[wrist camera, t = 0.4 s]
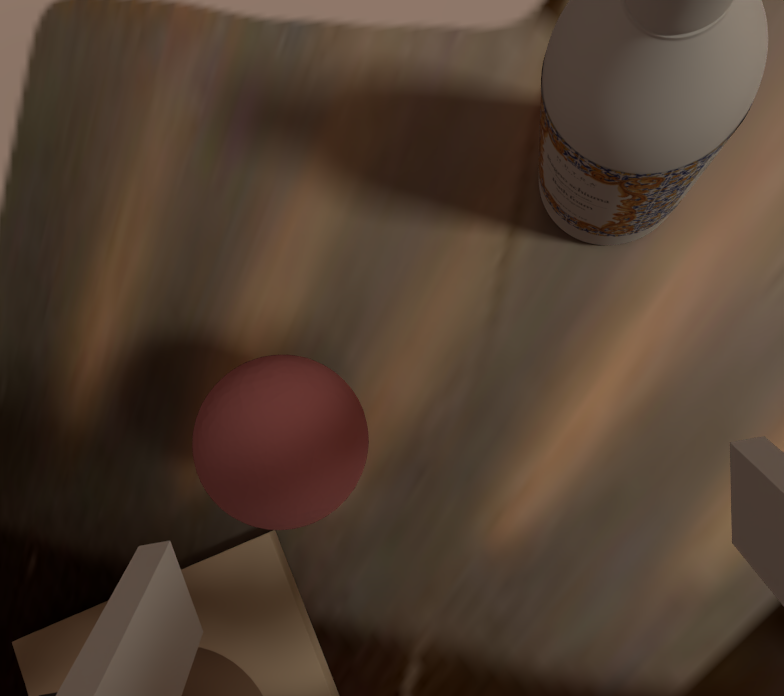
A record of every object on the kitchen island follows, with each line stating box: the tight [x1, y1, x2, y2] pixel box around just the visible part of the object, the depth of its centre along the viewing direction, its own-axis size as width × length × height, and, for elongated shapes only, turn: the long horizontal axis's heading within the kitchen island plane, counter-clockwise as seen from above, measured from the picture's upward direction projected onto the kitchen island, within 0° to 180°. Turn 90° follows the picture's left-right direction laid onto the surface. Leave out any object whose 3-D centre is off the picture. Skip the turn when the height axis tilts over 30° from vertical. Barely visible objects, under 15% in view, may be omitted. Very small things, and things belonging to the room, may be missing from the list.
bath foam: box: [539, 0, 768, 245], centre depth 24 cm, size 7×7×20 cm
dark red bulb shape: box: [192, 355, 369, 530], centre depth 30 cm, size 7×7×12 cm
